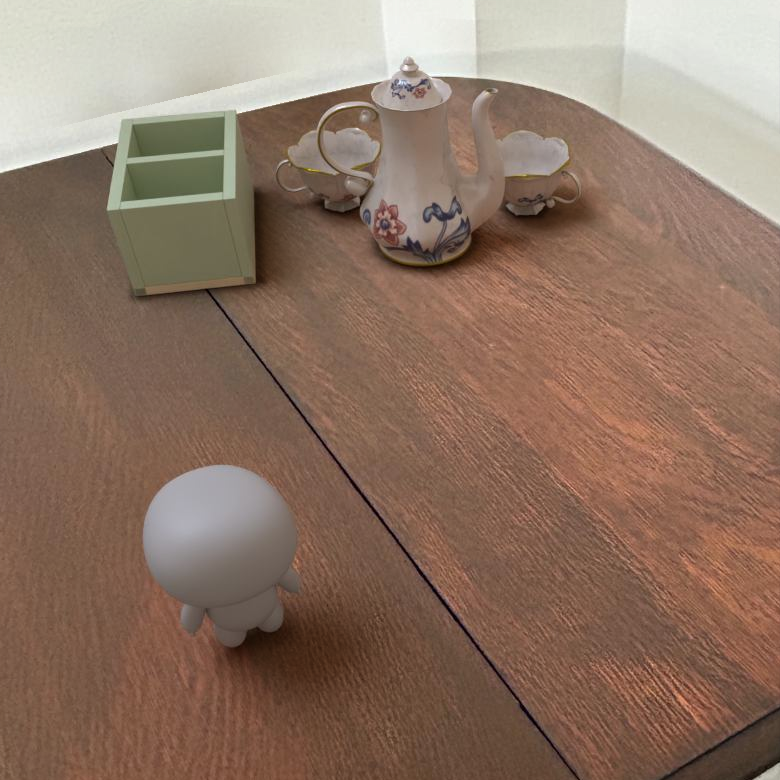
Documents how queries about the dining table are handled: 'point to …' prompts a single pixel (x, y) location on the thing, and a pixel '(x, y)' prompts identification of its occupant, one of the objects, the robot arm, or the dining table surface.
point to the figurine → (222, 549)
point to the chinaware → (425, 169)
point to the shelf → (183, 203)
